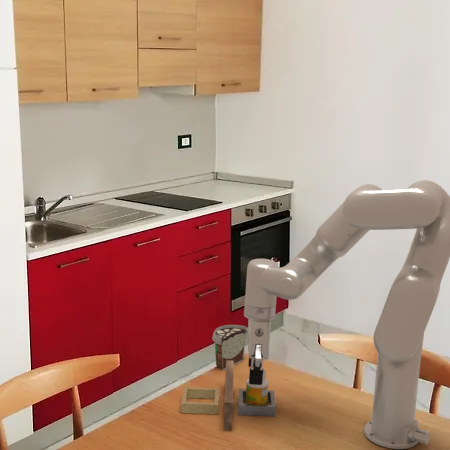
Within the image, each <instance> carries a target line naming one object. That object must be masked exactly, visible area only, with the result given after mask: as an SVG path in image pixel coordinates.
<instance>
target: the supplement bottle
mask: <svg viewBox="0 0 450 450" xmlns="http://www.w3.org/2000/svg"><path fill="white" fill-rule="evenodd" d="M266 377H267V371H266V369H264V368H263V380H262V385H252V384H249V377H248V378H247V380H246V385H245V386H246V387H245V389H246V400H245V404H256V405H268V401H267V399H268V390H269V381H268V378H266Z"/></svg>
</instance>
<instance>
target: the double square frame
mask: <svg viewBox="0 0 450 450" xmlns="http://www.w3.org/2000/svg"><path fill="white" fill-rule="evenodd" d="M237 396H238V402H237V403H238V411H237V412H238V416H249V417H251V416H252V417H276V414H277V413H276V412H277V411H276V410H277V405H276V404H277V403H276V397H275V390H269V389H268V399H267V402H269V404H267V405H256V404H246V403H244V401H246V388H245V389H244V388H243V389H242V388H239V389H238V395H237ZM197 398H204V399H203V400H214V402H203V401H200V402H199V401H188V399H197ZM219 399H220V388H218V387H217V388H216V387H214V388H213V387H189V386H184V387H183V391H182V397H181V402H180V413H181V414H193V415H195V414H198V415H199V414H201V415H218V414H219Z"/></svg>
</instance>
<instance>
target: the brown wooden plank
mask: <svg viewBox="0 0 450 450" xmlns="http://www.w3.org/2000/svg"><path fill="white" fill-rule="evenodd" d="M234 366H235V365H234V361H230V360H226V369H225V379H224V398H223V399H224V403H223V405H224V406H223V426H222V427H223V431H233V414H234V413H233V411H234V370H235V369H234V368H235V367H234Z"/></svg>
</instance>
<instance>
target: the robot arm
mask: <svg viewBox="0 0 450 450" xmlns="http://www.w3.org/2000/svg"><path fill="white" fill-rule="evenodd" d="M414 229H415V233H414V237H413V239H412V242H411V244H410V247H409V251H408V254H407V256H406V257H405V258H406V259H405V260H404V263H403V266H402V268H401V269H400V271H399V272H398V274H397V276H396V277H395V278H394V281H393V283H392V284H391V287H390V289H389V292H388V295H387V297H386V300H385V303H384V305H383V308H382V310H381V313H380V316H379V319H378V321H377V324H376V326H375V330H374V332H373V346H374V348H375V350H376V352H377V356H376V357H377V358H376V369H375V376H374V377H375V379H374V388H373V389H374V390H373V391H374V392H373V400H372V402H373V403H372V411H371V412H372V413H371V415H372V416H371V420H370V421H368V422H367V423H366V424H364V428H363V433H364V435H365V437H366V438H367V439H368V440H369V441H370V442H372V443H373V444H376V445H378V446H380V447H384V448H387V449H394V450H404V449H405V450H406V449H410V448H413V447H415V446H416V445H418V444H419V443H421V444H424V445H426V446H427V445H428V444H429V442H430V436H429V433H430V432H429V431H428V430H425V429H421V428H420V427H419V420H418V419H415V418H416V407H417V396H418V386H419V378H420V367H421V359H422V351H423V344H424V337H425V331H426V329H427V326H428V324H429V321H430V318H431V317H432V313H433V311H434V308H435V306H436V303H437V300H438V296H439V295H440V294H439V293H440V290H441V283H442V280H443V277H444V274H445V272H446V269H447V266H448V264H449V261H450V195H449V193H448V192H447V191H446V190H445V189H444V188H443V187H442V186H440V184H437V182H433V181H431V180H428V179H427V180H418V181H416V182H413V183H412V184H411V185H409V186H408V187H407V188H396V189H395V188H394V189H382V188H381V187H379V186H377V185H375V184H363V185H361V186H359V187H357V188H355V190H353V191H352V192H350V193H349V194H348V195H347V197H345V200H344V201H343V202H342V203H341V205H339V206H338V207H337V209H336V210H335V211H334V212H333V213H332V214H330V215H329V217H328V218H327V219H326V220H325V221H324V222H322V224H321V225H319V227H318V228H317V230H316V233H315V235H314V237H313V238H312V239H311V240H310V241H309V242H308V244H307V245H306V246H305V247H304V248H303V249H302V250H301V251H299V252H298V253H297V255H296V256H295V257H294V258H293V259H292V260H290V262H288V263H287V264H286V265H284V266H282V267H279V265H278V263H277V262H276V261H274V260H272V259H268V258H255V259H251V260H249V262H248V263H247V268H246V269H247V270H246V279H245V280H246V282H245V296H244V310H243V316H244V318H247V320H248V326H247V351H248V364H247V366H248V368H249V373H248V374H249V376H248V378H249V384H252V385H262V380H263V369H264V368H263V367H264V360H265V361H267V360H269V359H270V358H269V357H270V342H271V341H270V339H271V321H273V320H274V319H275V318H276V310H277V309H276V308H277V298H281V299H283V300H286V301H287V300H290V301H293V300H297V299H298V298H300V297H301V296H302V295H303V294H304V293H305V292H306V291H307V290H308V289H309V288H310V287H311V286H312V285H313V284H314V283H315V281H316V280H318V279H319V277H320V276H321V275H322V274H323V273H324V272H326V270H327V269H328V268H330V266H331V265H333V264H334V263H335V262H336V260H338V259H340V258H341V257H344V256H345V255H346V254H347V253H348V252H349V251H350V250H351V249H353V247H354V246H355V245H356V244H357V243H359V241H360V240H361V239H362V238H363V237H364V236H365V235H366V234H367V233H368V232H369V231H383V230H384V231H386V230H387V231H388V230H389V231H390V230H414Z"/></svg>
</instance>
